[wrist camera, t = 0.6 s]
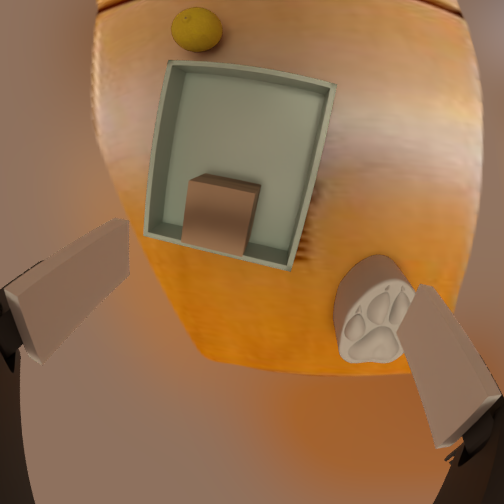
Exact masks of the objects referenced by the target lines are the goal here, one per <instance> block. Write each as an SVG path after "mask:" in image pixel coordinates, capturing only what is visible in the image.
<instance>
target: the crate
mask: <svg viewBox="0 0 504 504" xmlns="http://www.w3.org/2000/svg"><path fill="white" fill-rule="evenodd" d="M336 88H337V84H334V83H330V82H326V81H323V80H319V79H315V78H311V77H306V76H302V75H298V74H293V73H288V72H283V71H278V70H272V69H266V68H260V67H253V66H246V65H238V64H229V63H218V62H205V61H183V60H168V64H167V68H166V73H165V77H164V82H163V86H162V91H161V96H160V101H159V106H158V112H157V117H156V123H155V129H154V136H153V142H152V149H151V157H150V165H149V173H148V182H147V193H146V204H145V218H144V235H143V236H147V237H151V238H155V239H159V240H163V241H167V242H171V243H175V244H179V245H183V246H187V247H191V248H195V249H199V250H203V251H207V252H211V253H215V254H219V255H223V256H228V257H232V258H236V259H240V260H244V261H248V262H252V263H257V264H261V265H265V266H269V267H273V268H278V269H282V270H286V271H290V272H291V269H292V265H293V262H294V258H295V255H296V251H297V248H298V244H299V240H300V237H301V233H302V230H303V226H304V222H305V218H306V215H307V211H308V207H309V203H310V199H311V196H312V192H313V188H314V184H315V180H316V176H317V172H318V168H319V164H320V159H321V155H322V151H323V147H324V143H325V138H326V134H327V129H328V125H329V121H330V116H331V111H332V107H333V102H334V97H335V93H336ZM205 173H206V174H212V175H217V176H222V177H227V178H232V179H237V180H242V181H246V182H251V183H256V184H260V185H261V189H260V194H259V198H258V203H257V208H256V212H255V217H254V222H253V227H252V231H251V236H250V240H249V242H248V244H247V247H246V249H245V252H244V254H243V256H242V257H240V256H236V255H231V254H227V253H223V252H219V251H215V250H211V249H207V248H203V247H198V246H194V245H190V244H186V243H182V242H181V237H182V228H183V220H184V211H185V204H186V196H187V189H188V182H189V180H190V179H193V178H195V177H198V176H200V175H203V174H205Z"/></svg>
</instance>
